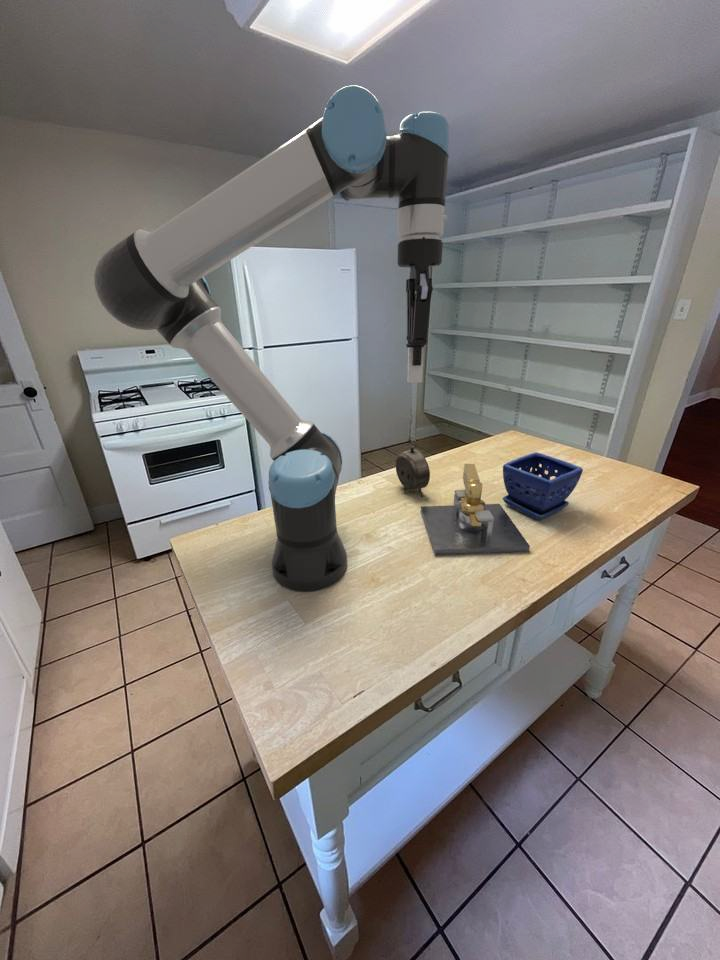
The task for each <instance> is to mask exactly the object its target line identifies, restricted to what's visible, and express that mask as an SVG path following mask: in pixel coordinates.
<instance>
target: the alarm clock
mask: <svg viewBox="0 0 720 960" xmlns="http://www.w3.org/2000/svg"><path fill="white" fill-rule="evenodd" d="M410 439H413V440H414V442H415V444H414V446H413V445H412V446H411V443H410ZM407 442H408V446H409V448H410V449H409V450H406V451H402V452H400V453H399V454H398V455H397V457H396V459H395V471H396V472H395V473H396V475H397V478H398V480H399V483H400V485H402V487H403V490H402V493H403V494H404V493H405V492H406V490H407V491H410V492H414V491H418V493H419V495H420V497H421V498H423V497H424V494H423V491H422V489H424V488H427V486H428V485H429V482H430V480H431V479H430V478H431V471H430V466H429V464H428V461H427V459H426V457H425V455H424V454H423V453H422V452H421V451H420V450H419V449H417V448H416V447H417V440H416V438H415V437H414V436H412V435H411V436H409V438H408V441H407Z"/></svg>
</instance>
